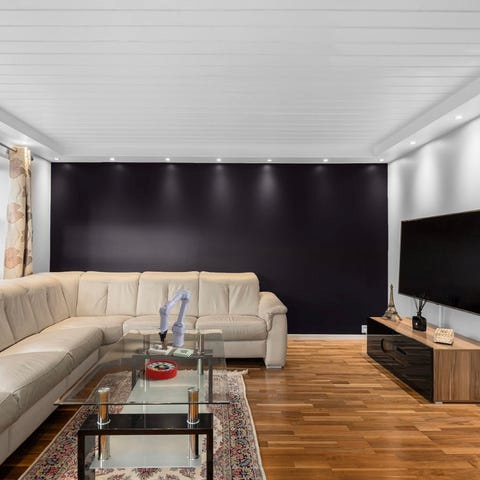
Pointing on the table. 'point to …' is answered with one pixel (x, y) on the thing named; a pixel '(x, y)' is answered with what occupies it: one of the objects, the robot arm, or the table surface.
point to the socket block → (160, 350)
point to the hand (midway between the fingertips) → (163, 340)
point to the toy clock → (161, 370)
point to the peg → (164, 345)
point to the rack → (185, 351)
